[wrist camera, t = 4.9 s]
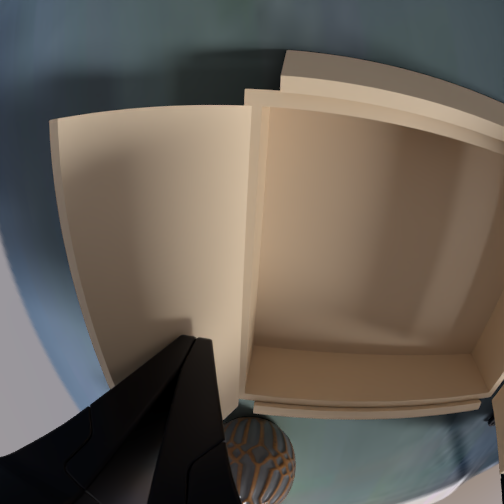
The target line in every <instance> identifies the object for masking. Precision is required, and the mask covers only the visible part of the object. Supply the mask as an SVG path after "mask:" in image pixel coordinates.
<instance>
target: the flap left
mask: <svg viewBox="0 0 504 504" xmlns="http://www.w3.org/2000/svg"><path fill="white" fill-rule="evenodd" d="M251 112H252V106H241V105H182V106H160V107H145V108H132V109H122V110H113V111H104V112H96V113H89V114H82V115H76V116H69V117H64V118H58V119H53V120H49V128H50V145H51V158H52V168H53V177H54V186H55V193H56V200H57V207H58V213H59V219H60V224H61V230H62V235H63V240H64V245H65V249H66V254H67V258H68V263H69V267H70V271H71V275H72V279H73V283H74V286H75V290H76V294H77V297H78V301H79V304H80V307H81V311H82V314H83V317H84V320H85V324H86V327H87V330H88V333H89V336H90V338H91V341H92V344H93V347H94V350H95V352H96V355H97V358H98V360H99V363H100V366H101V368H102V371H103V373H104V376H105V378H106V381H107V383H108V385H109V388H110V389H112V388H113V387H114V386H116V385H117V384H118V383H120V382H121V381H122V380H123V379H125V378H126V377H127V376H129V375H130V374H131V373H133V372H134V371H135V370H136V369H138V368H139V367H140V366H142V365H143V364H144V363H146V362H147V361H148V360H149V359H151V358H152V357H153V356H155V355H156V354H157V353H158V352H160V351H161V350H162V349H164V348H165V347H166V346H167V345H169V344H170V343H171V342H172V341H174V340H175V339H176V338H178V337H179V336H180V335H189V336H195V337H196V338H198V337H202V338H209V339H211V340H212V342H213V351H214V359H215V367H216V375H217V383H218V390H219V397H220V405H221V412H222V418H223V420H224V419H225V418H226V417H227V416H228V415H229V414H230V413H231V412H232V411H233V410H234V409H236V408H237V407H238V401H239V374H240V348H241V324H242V300H243V276H244V254H245V232H246V211H247V190H248V170H249V150H250V131H251Z"/></svg>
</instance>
